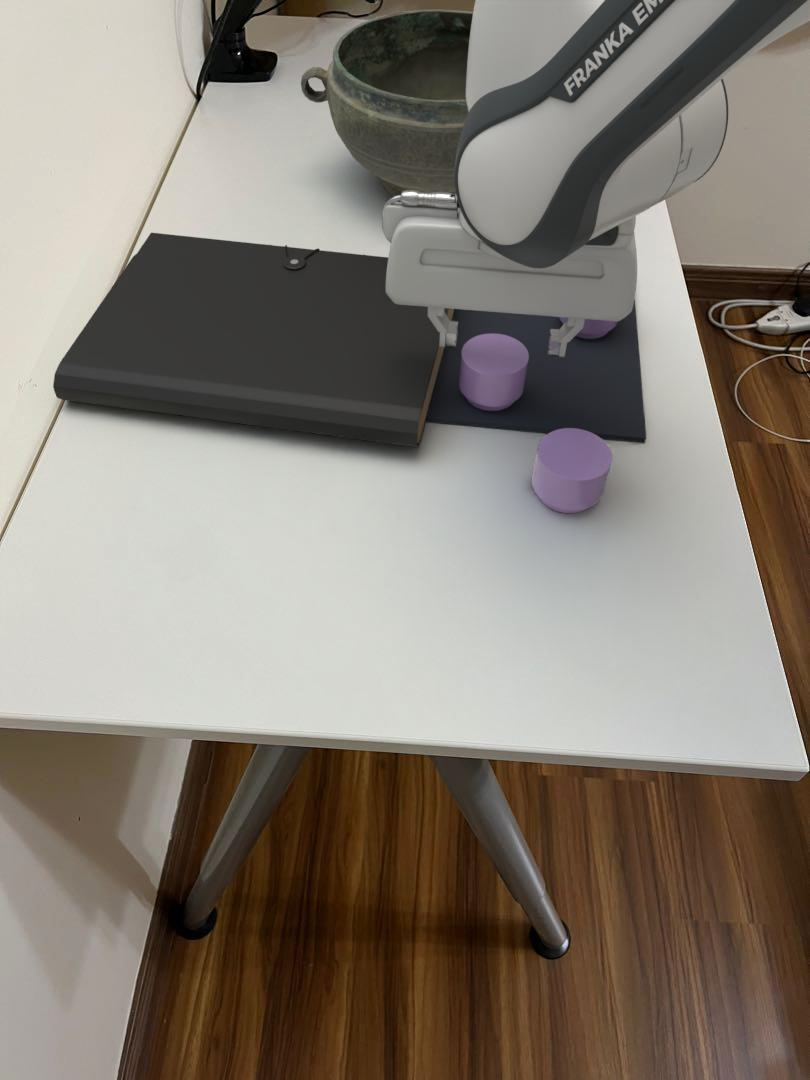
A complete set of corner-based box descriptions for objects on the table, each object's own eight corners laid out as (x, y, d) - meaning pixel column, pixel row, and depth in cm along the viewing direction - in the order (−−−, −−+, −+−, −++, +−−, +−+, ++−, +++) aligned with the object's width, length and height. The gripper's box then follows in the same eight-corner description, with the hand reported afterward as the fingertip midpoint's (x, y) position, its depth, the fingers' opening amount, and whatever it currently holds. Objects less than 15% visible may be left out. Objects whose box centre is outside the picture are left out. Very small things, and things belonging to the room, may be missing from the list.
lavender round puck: (615, 309, 87) (624, 270, 84) (617, 345, 83) (627, 305, 80) (556, 304, 88) (564, 265, 84) (556, 340, 84) (563, 300, 80)
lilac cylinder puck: (523, 376, 80) (530, 336, 77) (521, 418, 76) (527, 378, 73) (460, 370, 81) (464, 330, 77) (455, 412, 77) (458, 372, 73)
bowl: (295, 231, 97) (282, 95, 85) (319, 126, 113) (311, 1, 102) (577, 241, 96) (602, 106, 85) (559, 134, 113) (579, 9, 101)
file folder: (460, 260, 85) (416, 424, 70) (459, 295, 88) (416, 458, 73) (150, 228, 89) (47, 376, 74) (159, 262, 92) (62, 410, 78)
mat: (631, 277, 92) (632, 272, 91) (644, 443, 75) (646, 438, 75) (448, 262, 93) (448, 257, 93) (422, 421, 77) (422, 416, 76)
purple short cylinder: (600, 470, 73) (611, 431, 70) (602, 522, 69) (613, 483, 66) (531, 463, 74) (538, 424, 70) (528, 515, 70) (536, 476, 66)
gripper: (375, 210, 63) (379, 360, 73) (656, 229, 61) (618, 380, 71) (387, 169, 67) (389, 317, 77) (651, 186, 65) (616, 335, 76)
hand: (501, 348), depth 74 cm, fingers open, 8 cm apart
